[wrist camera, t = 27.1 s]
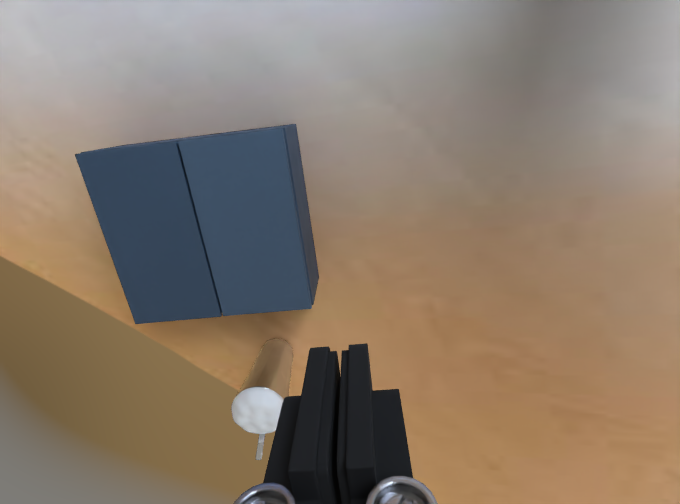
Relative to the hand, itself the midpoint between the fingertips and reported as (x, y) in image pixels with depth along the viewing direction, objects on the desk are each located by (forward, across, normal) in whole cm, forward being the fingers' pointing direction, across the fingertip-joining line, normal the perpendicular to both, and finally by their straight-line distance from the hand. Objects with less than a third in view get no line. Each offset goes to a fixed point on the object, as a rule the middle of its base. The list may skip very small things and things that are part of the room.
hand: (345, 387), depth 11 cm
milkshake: (+23, +9, +15) cm, 29 cm away
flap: (+17, +7, 0) cm, 19 cm away
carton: (+23, +11, 0) cm, 25 cm away
